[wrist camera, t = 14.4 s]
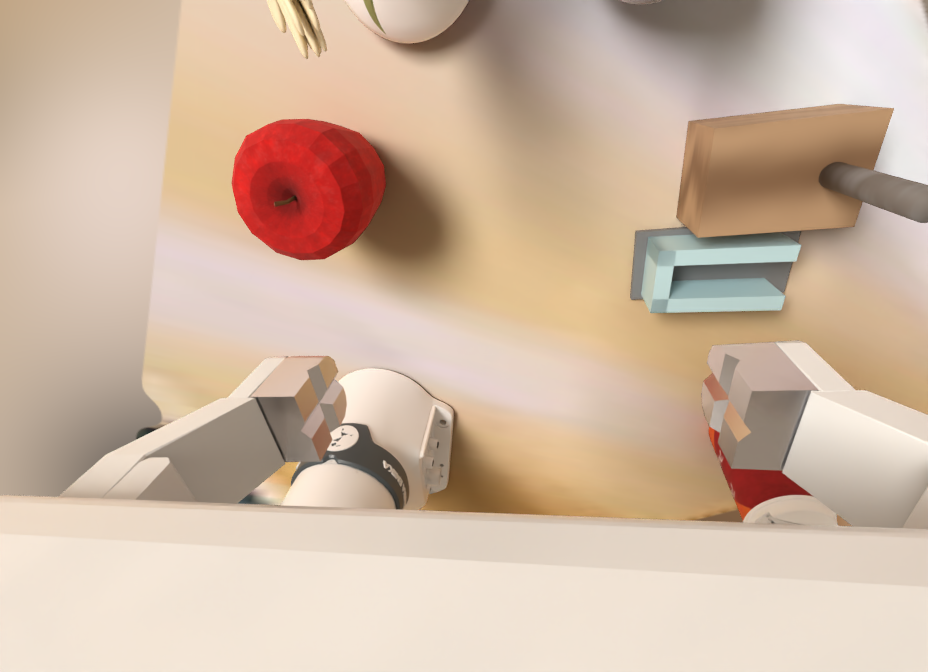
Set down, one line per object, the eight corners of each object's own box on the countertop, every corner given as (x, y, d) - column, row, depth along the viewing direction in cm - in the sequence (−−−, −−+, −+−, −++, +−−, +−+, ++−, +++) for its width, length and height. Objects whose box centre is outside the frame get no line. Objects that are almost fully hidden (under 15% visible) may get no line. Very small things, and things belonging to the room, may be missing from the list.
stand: (810, 206, 38) (953, 272, 25) (676, 217, 40) (745, 282, 27) (839, 103, 34) (1026, 119, 21) (688, 121, 36) (776, 144, 23)
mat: (781, 290, 42) (784, 292, 41) (630, 297, 44) (631, 299, 44) (800, 218, 38) (803, 220, 38) (635, 230, 41) (636, 232, 40)
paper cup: (685, 439, 53) (730, 544, 41) (725, 394, 49) (788, 496, 37) (742, 460, 53) (803, 570, 41) (786, 417, 49) (868, 526, 37)
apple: (333, 239, 45) (265, 294, 34) (274, 143, 41) (174, 168, 29) (419, 199, 42) (377, 245, 30) (365, 89, 38) (292, 94, 26)
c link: (641, 294, 43) (650, 313, 40) (648, 236, 40) (659, 251, 37) (760, 291, 42) (781, 310, 38) (777, 230, 39) (801, 245, 35)
